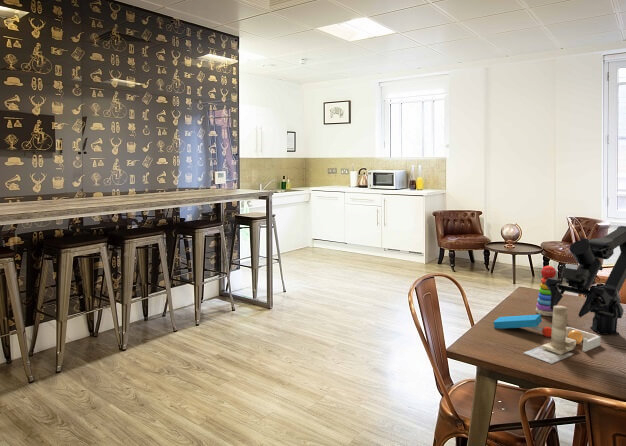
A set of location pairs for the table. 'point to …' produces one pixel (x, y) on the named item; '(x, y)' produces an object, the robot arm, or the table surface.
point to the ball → (575, 336)
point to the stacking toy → (545, 292)
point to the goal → (587, 339)
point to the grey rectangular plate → (547, 355)
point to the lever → (522, 323)
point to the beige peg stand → (559, 332)
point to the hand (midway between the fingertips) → (564, 312)
